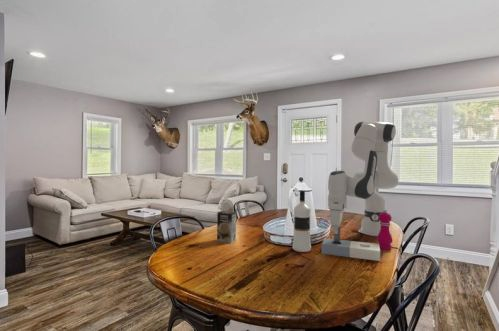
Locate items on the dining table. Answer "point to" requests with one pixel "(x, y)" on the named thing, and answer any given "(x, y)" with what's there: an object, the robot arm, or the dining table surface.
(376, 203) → the robot arm
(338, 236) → the lock pin
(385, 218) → the pepper mill
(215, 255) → the dining table surface
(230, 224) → the coffee box
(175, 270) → the dining table surface
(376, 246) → the pin board
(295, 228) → the vodka
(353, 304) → the dining table surface
